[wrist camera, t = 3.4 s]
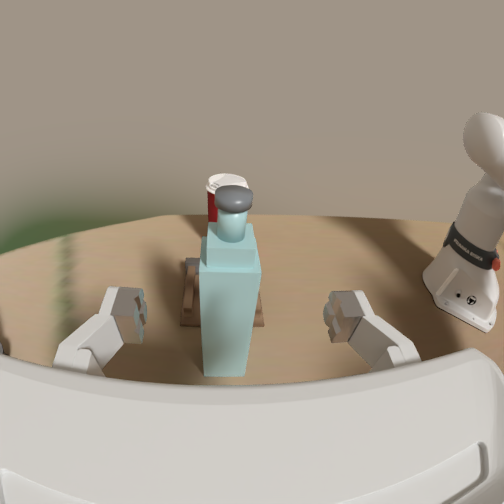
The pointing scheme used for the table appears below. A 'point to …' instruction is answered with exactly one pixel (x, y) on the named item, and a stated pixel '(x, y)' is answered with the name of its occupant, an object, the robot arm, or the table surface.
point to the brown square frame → (192, 298)
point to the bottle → (228, 284)
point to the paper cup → (215, 183)
